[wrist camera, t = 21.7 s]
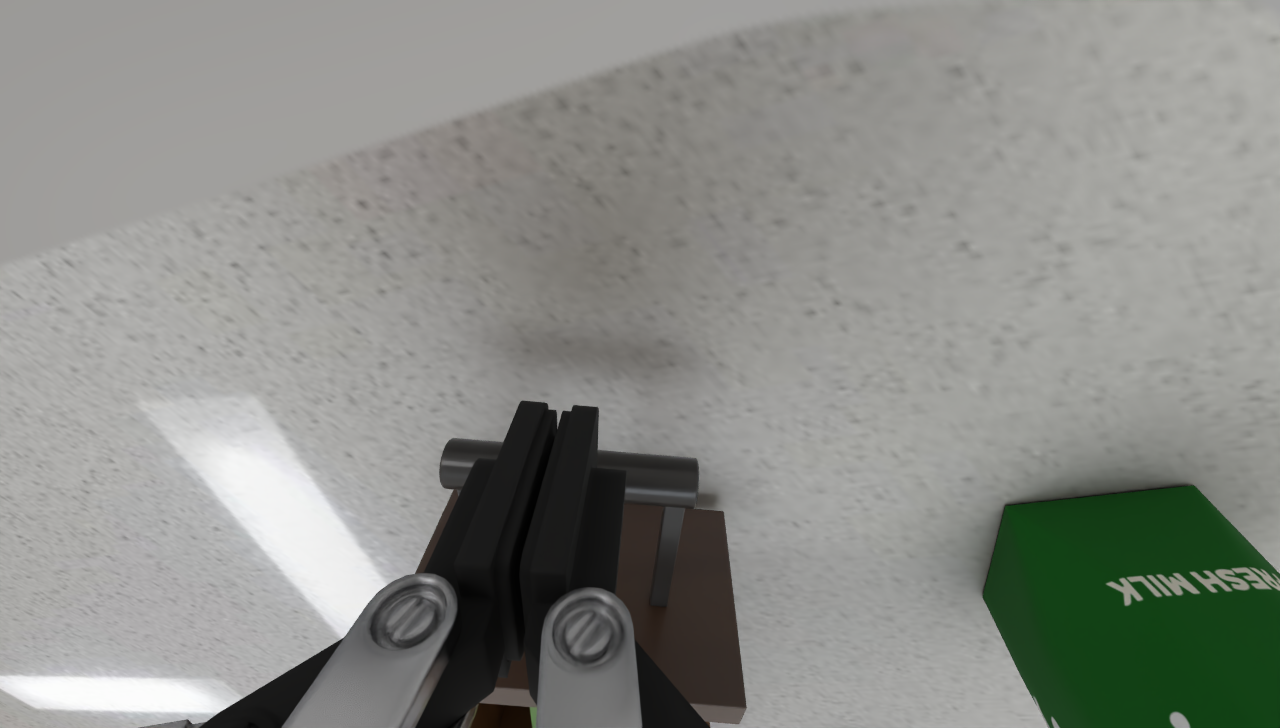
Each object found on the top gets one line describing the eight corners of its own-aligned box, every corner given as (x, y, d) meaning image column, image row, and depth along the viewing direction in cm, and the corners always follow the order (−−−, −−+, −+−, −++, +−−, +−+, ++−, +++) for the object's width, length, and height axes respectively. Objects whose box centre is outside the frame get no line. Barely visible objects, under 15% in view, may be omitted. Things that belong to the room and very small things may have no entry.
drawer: (425, 355, 17) (292, 537, 11) (756, 383, 17) (805, 580, 11) (491, 663, 29) (446, 827, 23) (681, 679, 30) (684, 846, 23)
